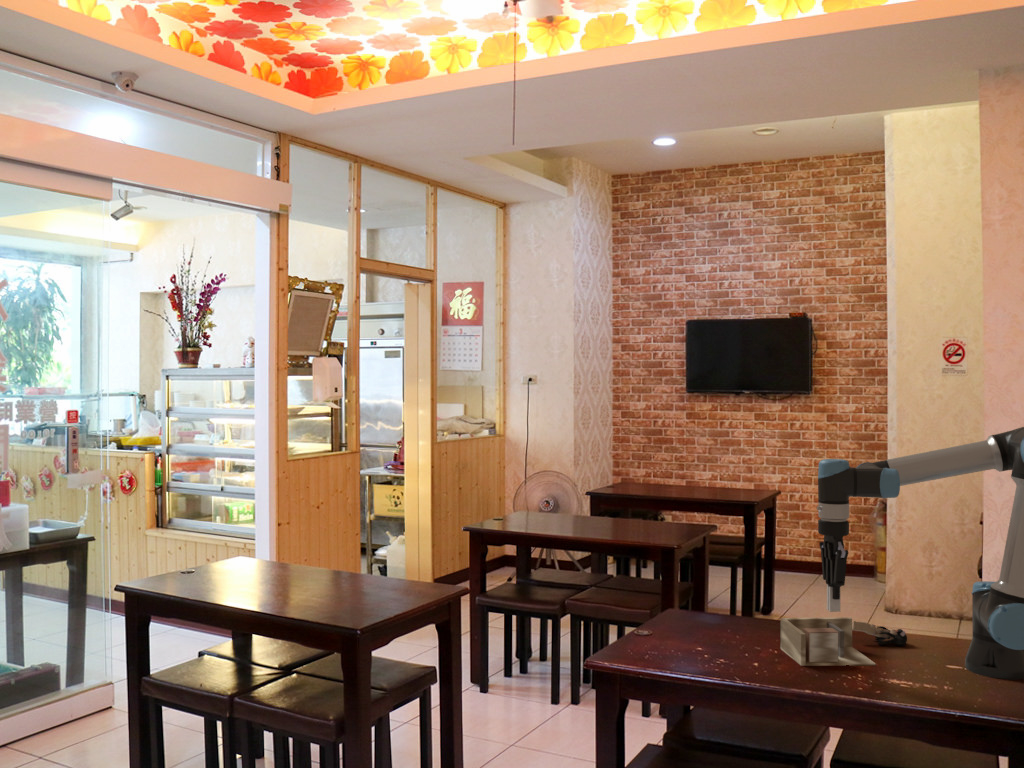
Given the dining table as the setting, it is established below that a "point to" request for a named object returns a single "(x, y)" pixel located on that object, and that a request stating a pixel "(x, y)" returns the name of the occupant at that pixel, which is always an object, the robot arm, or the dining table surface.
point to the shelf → (796, 639)
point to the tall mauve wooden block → (821, 644)
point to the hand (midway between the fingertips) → (833, 610)
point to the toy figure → (881, 633)
